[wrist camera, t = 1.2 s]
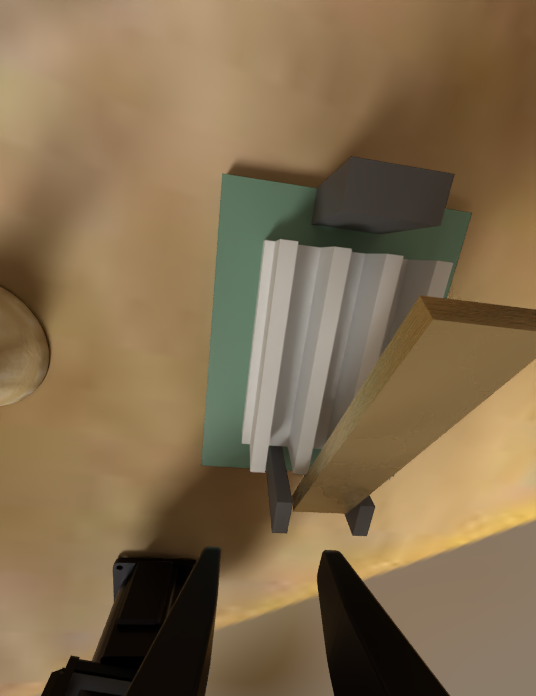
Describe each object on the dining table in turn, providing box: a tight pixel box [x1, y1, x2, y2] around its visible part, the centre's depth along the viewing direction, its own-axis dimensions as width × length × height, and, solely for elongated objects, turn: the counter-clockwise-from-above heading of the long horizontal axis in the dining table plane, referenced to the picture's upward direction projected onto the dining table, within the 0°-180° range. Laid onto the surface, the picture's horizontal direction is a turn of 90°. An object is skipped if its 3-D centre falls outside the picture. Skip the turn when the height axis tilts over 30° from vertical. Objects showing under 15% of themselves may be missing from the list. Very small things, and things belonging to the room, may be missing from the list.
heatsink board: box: [201, 156, 472, 536], centre depth 17 cm, size 18×14×6 cm
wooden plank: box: [292, 295, 536, 514], centre depth 12 cm, size 14×3×1 cm
